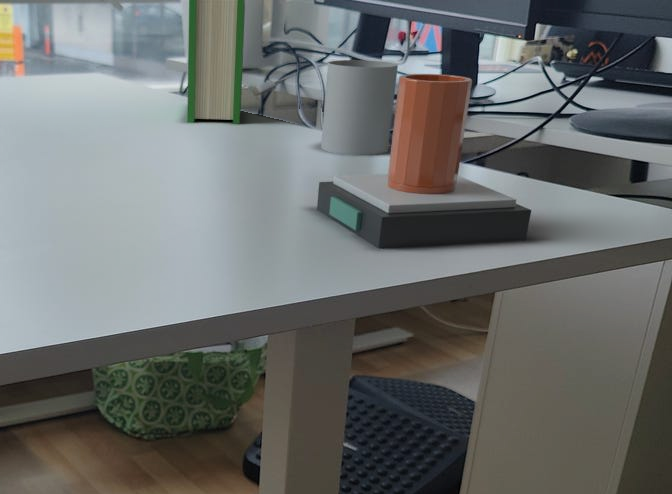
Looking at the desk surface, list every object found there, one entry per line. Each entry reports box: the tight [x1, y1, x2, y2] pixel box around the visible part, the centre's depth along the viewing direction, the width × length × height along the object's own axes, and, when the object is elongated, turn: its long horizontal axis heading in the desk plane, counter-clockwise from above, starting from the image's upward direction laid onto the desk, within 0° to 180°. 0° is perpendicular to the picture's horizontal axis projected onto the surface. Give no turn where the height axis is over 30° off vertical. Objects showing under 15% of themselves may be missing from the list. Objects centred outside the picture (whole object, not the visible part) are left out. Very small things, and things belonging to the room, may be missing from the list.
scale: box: [316, 173, 532, 249], centre depth 86 cm, size 14×14×4 cm
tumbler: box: [387, 73, 473, 194], centre depth 83 cm, size 6×6×9 cm
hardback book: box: [186, 0, 246, 125], centre depth 138 cm, size 18×7×24 cm, turn 177°
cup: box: [320, 59, 398, 156], centre depth 118 cm, size 8×8×10 cm
